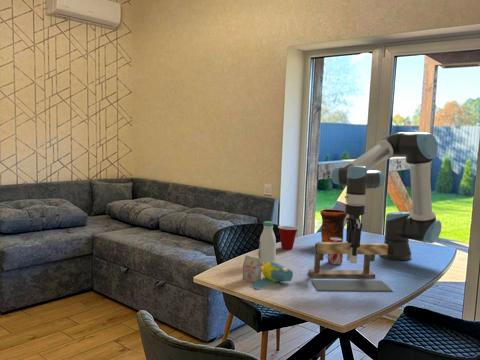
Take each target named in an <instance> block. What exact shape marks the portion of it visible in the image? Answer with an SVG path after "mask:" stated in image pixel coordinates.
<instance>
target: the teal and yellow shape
mask: <svg viewBox="0 0 480 360" xmlns="http://www.w3.org/2000/svg"><path fill="white" fill-rule="evenodd" d="M270 262H271V263H267V264H265V265H264V263H262V265H261V274H262V275H263V278H261V280H259V281H257V282H256V283H252V284H251V285H250V286H248V288H250V289H252V288H253V289H255V290H257V291H261V290H263V288H266V287H269V286H273V285H274V284H277V283H278V282H291V281H292V279H293V277H294V273H293V270H292V269H290V268H288V267H286V266H283V264H281V263H279V262H276V261H275V262H274V261H270Z"/></svg>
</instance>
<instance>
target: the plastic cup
mask: <svg viewBox="0 0 480 360" xmlns="http://www.w3.org/2000/svg"><path fill="white" fill-rule="evenodd" d="M277 228H278V232H279V239H280V240H279V241H280V245H281V250H284V251H291V250H293V249H294V244H295V239H296V236H297V232H298V230H299V227H297V226H291V225H290V226H289V225H278V226H277Z"/></svg>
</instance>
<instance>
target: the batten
mask: <svg viewBox="0 0 480 360" xmlns="http://www.w3.org/2000/svg"><path fill="white" fill-rule="evenodd" d="M316 243H317V252H318V253H320V254H324V255H325V254H327V255H328V254H343V255H347V254H350V246H351V243H347V242H346V241H345V242H344V241H343V242H322V241H317V242H316ZM387 253H388V245H387V244H385V243H384V242H382V243H380V242H379V243H377V242H360V247H358V249H357V255H364V254H366V255H375V256H377V255H379V256H381V255H387Z"/></svg>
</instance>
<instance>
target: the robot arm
mask: <svg viewBox="0 0 480 360" xmlns="http://www.w3.org/2000/svg"><path fill="white" fill-rule="evenodd" d="M374 145H375V146H374V147H372V148H371V149H369V150H367V151H366V152H365V153H363V154H362V155H360V156H358V157H357V158H356V159H354V160H353V161H351V162H349V163H348V164H346V165H345V166H343V167H341V166H339V167H333V170H332V171H331V174H330V177H331V181H332V183H333V184H335V185H339V186H346V192H345V196H344V199H345V203H346V204H345V207H344V211H345V213H346V214H347V216H348V217H345V221H346V230H345V231H346V233H345V235H346V236H345V238H346V239H345V243H351V246H350V254H346V261H347V262H348V261H349V262H348V263H349V264H357V263H358V262H357V261H358V254H357V249H358V247H360V243H361V237H362V229H363V223H361V219H360V216H363V215H365V211H366V210H365V204H366V196H367V195H366V194H367V193H366V190H367V189H368V190H369V189H375V190H376V189H378V188H381V187H382V186H383V185H384V184H385V179H386V177H385V175H384V173H383V172H382V171H380V170H377V169H374V168H375V167H376V166H378V165H379V164H381V162H383V161H384V160H389V159H391V158H394V157H395V158H397V157H401V158H405V162H406V163H407V165H409V173H410V174H409V175H410V191H411V205H412V212H410V211H392V212H388V213H387V214H386V216H385V227H384V241H383V243H385V244H387V245H388V253H387V255H380V256H381V257H382V258H385V259H387V260H394V261H408V260H412V251H411V247H410V241H409V240H411V241H417V242H420V243H423V244H424V243H426V244H434V243H435V242H436V241H437V240H438V239H439V237H440V235H441V233H442V232H441V231H442V222H441V221H440V220H439V219H437V217H436V216H437V215H436V213H435V212H433V208H432V207H433V204H432V203H433V202H432V187H431V185H432V184H431V183H432V182H431V169H430V165H431V163H432V162H433V160H434V158H436V156H437V154H438V150H439V148H438V141H437V139H436V137H435V136H434V134H433V133H429V132H423V131H421V132H419V131H418V132H417V131H416V132H415V131H414V132H413V131H410V132H409V131H407V132H405V131H401V132H395V133H392V134H389V135H387V136H385V137H384V138H381V139H380V140H379V141H377V142H376V143H375V144H374Z"/></svg>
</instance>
